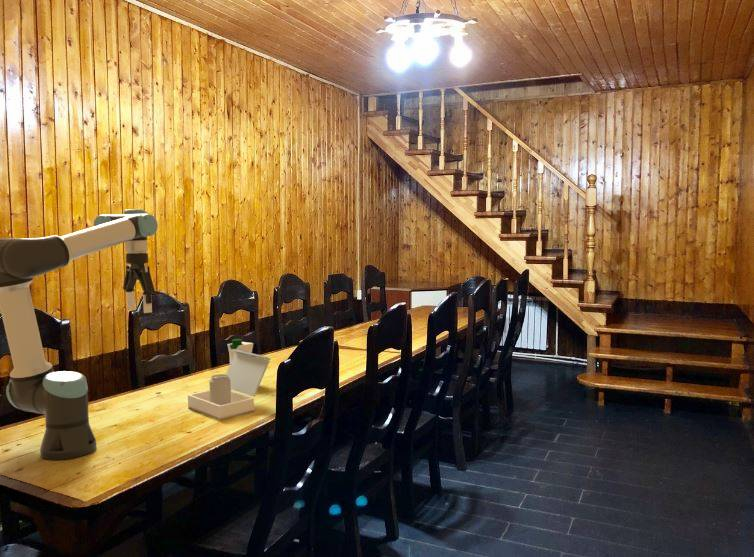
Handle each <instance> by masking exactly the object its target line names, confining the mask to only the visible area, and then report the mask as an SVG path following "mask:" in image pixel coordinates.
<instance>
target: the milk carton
mask: <svg viewBox="0 0 754 557" xmlns="http://www.w3.org/2000/svg"><path fill="white" fill-rule="evenodd" d="M253 348H254V343H253V342H248V341H247V342H246V341H243V339H241V338H234V339H231V343H227V349H228V353H229V354H228V355H229V364H230V363H231V361H232V359H233V357H234V355H235V351H233V349H236V350H240V351H244V352H249V353H253ZM236 353H237V352H236ZM240 354H241V353H240ZM244 355H245V354H244ZM248 356H249V355H248Z"/></svg>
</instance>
